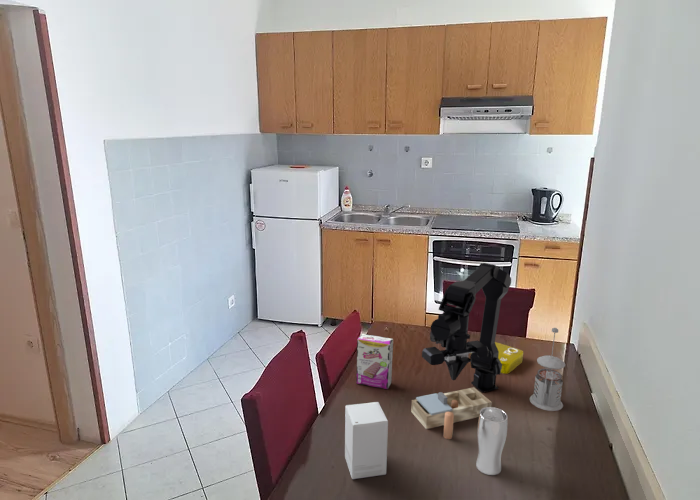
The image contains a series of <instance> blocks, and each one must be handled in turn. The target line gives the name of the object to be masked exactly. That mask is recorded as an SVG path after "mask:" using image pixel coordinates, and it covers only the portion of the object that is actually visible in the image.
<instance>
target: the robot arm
mask: <svg viewBox="0 0 700 500" xmlns="http://www.w3.org/2000/svg"><path fill="white" fill-rule="evenodd" d="M511 284H512V277H511V275H509V273H508V272H506V271H505V270H502V269H501V268H500V267H499V266H498V265H496V264H492V263H487V262H482V263H480V264H479V265H478V268H477V269H475V270H474V271H473V272H471V274H470V275H469V276H467V277H466V278H465V279H464V280H461V281H454V282H453V283H451V284H450V285H449V286H448V287H447V288H446V289H445V291H444V294H443V296H442V299H441V301H440V304H439V307H438V311H441V312H442V313H439V314H438V316H437V318H436V319H435V320H433V321H432V322H431V325H430V332H429V339H430V342H433V343H435V344H436V345H438V344H440V347H442V348H445V349H442V350H440V349H439V348H437V347H436V346H431V347H429V346H428V347H424V348H423V349H422V350H421V357H422V358H423V359H424V360H425V361H426V362H427V363H428V364H429V365H430V366H437V365H438V366H439V365H442V364H443V363H445V364H446V366H447V369H448V372H449V376H450V380H452V381H456V380H457V379H458V377H459V375H460V374H461V372H462V371H463V370H464V369H465V367H466V366H467V364H469V363H470V368H471V369H475V370H474V373H473V380H471V382H470V383H471V385H472V386H473V387H474V388H475V389H477V390H478V391H479V392H480V393H486V392H492V391H496V390H499V387H498V386H497V385H496V383H497V376H499V375H501V374H502V373H501V369H502V364H501V362H500V360H499V358H498V354H499V351H498V349H497V347H496V344H495V342H496V336H497V329H498V325H499V324H498V323H499V315H500V309H501V303H502V299H503V298H505V295H506V294H508V291H509V289H510V287H511ZM481 289H482V291H483V294H484V296H485V302H484V308H483V313H482V315H483V316H482V322H481V327H480V335H479V340H470V339H471V334H470V333H468V331H469V318H470V313H471V311H472V309H473V307H474V305H475V302H476V295H477V294H478V292H480V290H481ZM468 340H469V341H468ZM469 354H470V357H469Z"/></svg>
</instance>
